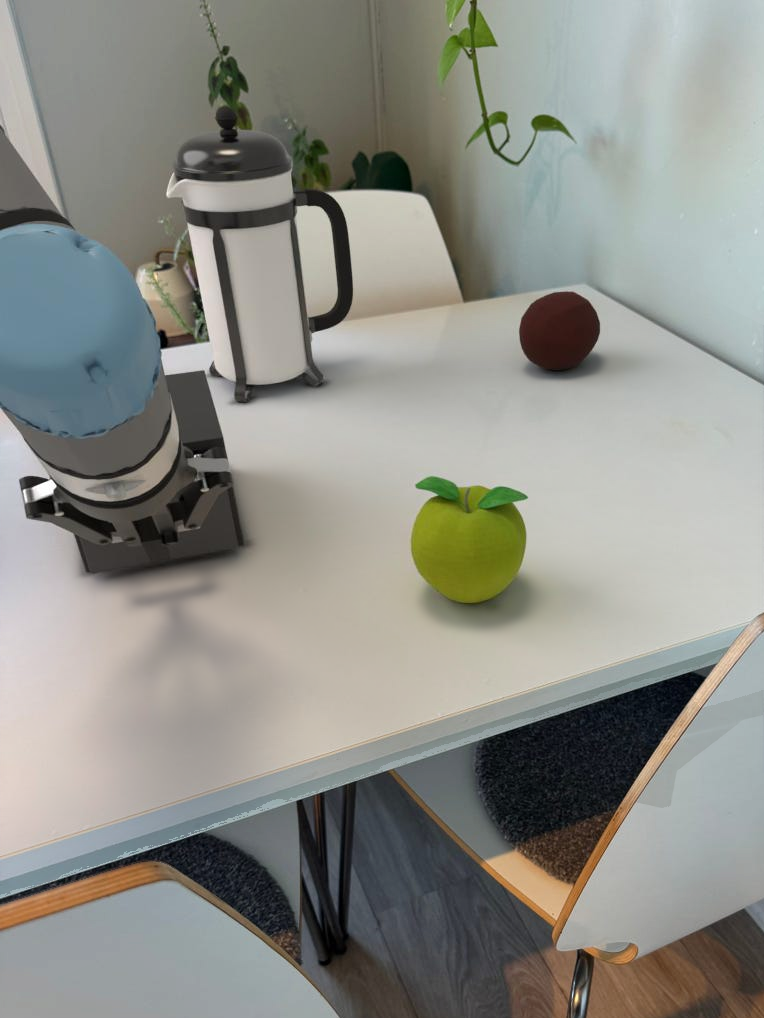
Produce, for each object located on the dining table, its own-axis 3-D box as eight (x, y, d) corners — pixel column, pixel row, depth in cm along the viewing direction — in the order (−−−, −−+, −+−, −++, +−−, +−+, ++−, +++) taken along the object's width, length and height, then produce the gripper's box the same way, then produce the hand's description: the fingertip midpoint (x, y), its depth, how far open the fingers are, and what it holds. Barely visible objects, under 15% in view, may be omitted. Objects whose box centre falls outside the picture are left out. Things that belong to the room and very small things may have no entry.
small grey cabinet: (244, 545, 85) (223, 437, 78) (86, 573, 81) (50, 462, 75) (224, 469, 97) (204, 369, 90) (85, 491, 93) (54, 389, 86)
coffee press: (300, 412, 108) (261, 121, 89) (182, 395, 112) (121, 113, 93) (362, 359, 120) (339, 95, 102) (254, 346, 125) (213, 90, 106)
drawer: (245, 573, 79) (226, 480, 74) (91, 601, 76) (60, 507, 71) (219, 475, 94) (202, 391, 88) (89, 495, 90) (63, 410, 85)
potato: (502, 368, 118) (502, 294, 112) (567, 345, 124) (571, 274, 118) (550, 388, 113) (553, 312, 107) (616, 363, 119) (622, 290, 113)
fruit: (434, 555, 83) (430, 454, 77) (535, 571, 81) (538, 469, 75) (398, 613, 76) (390, 508, 70) (507, 633, 74) (508, 525, 68)
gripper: (-4, 525, 49) (81, 605, 72) (242, 485, 52) (249, 574, 75) (-30, 393, 50) (62, 514, 73) (214, 362, 53) (230, 487, 76)
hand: (157, 544), depth 74 cm, fingers closed
